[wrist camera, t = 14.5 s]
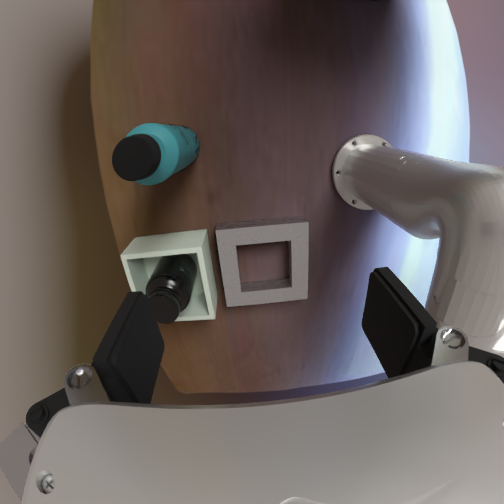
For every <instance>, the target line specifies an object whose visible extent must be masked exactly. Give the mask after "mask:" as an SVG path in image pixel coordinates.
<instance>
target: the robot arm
mask: <svg viewBox="0 0 504 504" xmlns="http://www.w3.org/2000/svg"><path fill="white" fill-rule="evenodd" d="M352 141H353V144H352ZM382 143H383V145H382ZM337 171H338V174H336V172H337ZM332 176H333V182H334V185H335V188H336V190H337V192H338V194H339V195H340V196H341V197H342V199H343V200H344V201H346V202H347V203H348V204H350V205H351V206H353V207H355V208H358V209H362V210H372V209H374V210H376V211H377V212H379V213H380V214H382V215H383V216H385V217H386V218H388V219H389V220H391V221H392V222H393V223H395V224H396V225H398V226H399V227H400V228H402V229H403V230H405V231H406V232H408V233H409V234H411V235H413V236H415V237H417V238H420V239H436V238H440V240H439V247H438V252H437V260H436V265H435V269H434V273H433V277H432V281H431V285H430V289H429V293H428V296H427V300H426V304H425V308H424V307H423V306H422V305H421V303H420V302H419V301H418V300H417V299H416V298H415V297H414V295H413V294H412V293H411V292H410V291H409V290H408V289H407V287H406V286H405V285H404V284H403V283H402V282H401V281H400V280H399V279H398V278H397V276H396V275H395V274H394V273H393V272H392V271H391V270H390V269H389V268H388V267H382V268H375V269H374V271H373V272H371V273H370V277H369V284H368V290H367V296H366V302H365V308H364V313H363V318H362V328H363V330H364V332H365V334H366V336H367V338H368V340H369V342H370V343H371V345H372V347H373V349H374V351H375V353H376V355H377V357H378V359H379V361H380V363H381V365H382V367H383V368H384V370H385V372H386V374H387V376H388V378H389V379H385V380H381V381H378V382H374V383H370V384H366V385H362V386H358V387H354V388H349V389H344V390H339V391H334V392H329V393H324V394H318V395H313V396H306V397H300V398H293V399H285V400H277V401H267V402H256V403H244V404H226V405H162V404H150V403H151V399H152V395H153V391H154V386H155V382H156V378H157V375H158V371H159V367H160V363H161V359H162V356H163V352H164V341H163V338H162V336H161V333H160V330H159V328H158V325H157V322H156V319H155V316H154V313H153V311H152V308H151V305H150V302H149V299H148V296H147V295H146V294H144V293H143V292H142V291H135V292H128V294H127V295H126V297H125V299H124V301H123V302H122V304H121V306H120V308H119V310H118V311H117V313H116V315H115V317H114V319H113V321H112V322H111V324H110V326H109V328H108V330H107V332H106V334H105V335H104V337H103V339H102V341H101V343H100V345H99V347H98V349H97V351H96V353H95V355H94V357H93V362H92V364H91V365H89V364H79V365H76V366H74V367H73V368H71V369H70V370H69V371H68V372H67V374H66V375H65V378H64V387H65V388H63V389H61V390H60V391H58V392H56V393H54V394H52V395H50V396H49V397H47V398H45V399H43V400H41V401H39V402H37V403H36V404H34V405H33V406H32V407H31V408H30V409H29V410H28V412H27V415H26V424H24V423H23V422H22V423H21V424H20V425H19V426H18V427H17V428H16V429H15V430H14V431H13V432H12V433H11V434H10V435H9V436H8V437H7V438H6V439H5V440H4V441H2V442H1V444H0V467H1V469H2V471H3V472H4V474H5V476H6V478H7V479H8V481H9V483H10V484H11V486H12V488H13V489H14V491H15V492H16V494H17V495H18V497H19V498H20V500H21V501H22V502H21V504H504V167H501V166H496V165H488V164H476V163H466V162H458V161H452V160H447V159H442V158H438V157H433V156H429V155H424V154H420V153H415V152H411V151H406V150H401V149H396V148H393V147H392V146H391V145H390V144H389V143H388V142H387V141H386V140H384V139H383V138H381V137H378V136H376V135H370V134H362V135H357V136H354V137H352V138H350V139H349V140H347V141H346V142H345V143H344V144H343V145H342V146H341V147H340V148H339V150H338V151H337V153H336V156H335V158H334V162H333V166H332ZM352 200H353V202H352Z"/></svg>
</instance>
